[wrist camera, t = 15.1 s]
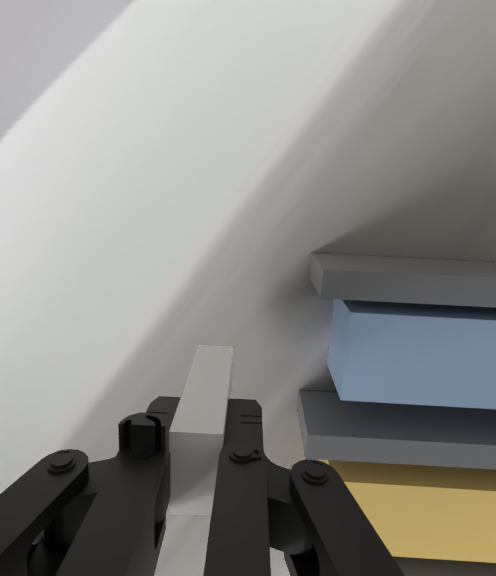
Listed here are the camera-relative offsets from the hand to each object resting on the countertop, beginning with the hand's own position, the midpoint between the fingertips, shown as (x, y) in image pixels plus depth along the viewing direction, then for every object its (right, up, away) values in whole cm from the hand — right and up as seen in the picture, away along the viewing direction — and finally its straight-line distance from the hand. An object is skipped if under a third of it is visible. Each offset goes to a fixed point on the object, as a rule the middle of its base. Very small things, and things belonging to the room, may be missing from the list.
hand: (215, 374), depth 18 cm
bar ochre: (+11, -6, +5) cm, 14 cm away
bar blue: (+12, +1, +3) cm, 12 cm away
